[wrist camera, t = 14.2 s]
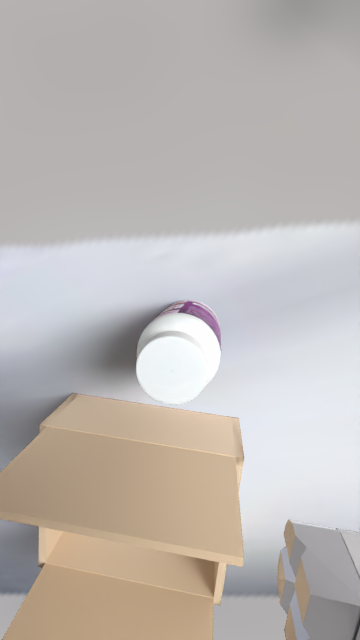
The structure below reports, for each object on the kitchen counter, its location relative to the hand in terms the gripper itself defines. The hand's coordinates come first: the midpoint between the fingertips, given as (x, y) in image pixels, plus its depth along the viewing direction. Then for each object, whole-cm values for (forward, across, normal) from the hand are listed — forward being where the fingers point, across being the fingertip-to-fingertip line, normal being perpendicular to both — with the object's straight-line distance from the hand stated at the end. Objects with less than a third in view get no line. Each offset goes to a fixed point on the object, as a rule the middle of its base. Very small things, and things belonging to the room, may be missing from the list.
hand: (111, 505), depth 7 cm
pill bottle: (+19, 0, 0) cm, 19 cm away
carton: (+19, +3, +14) cm, 24 cm away
